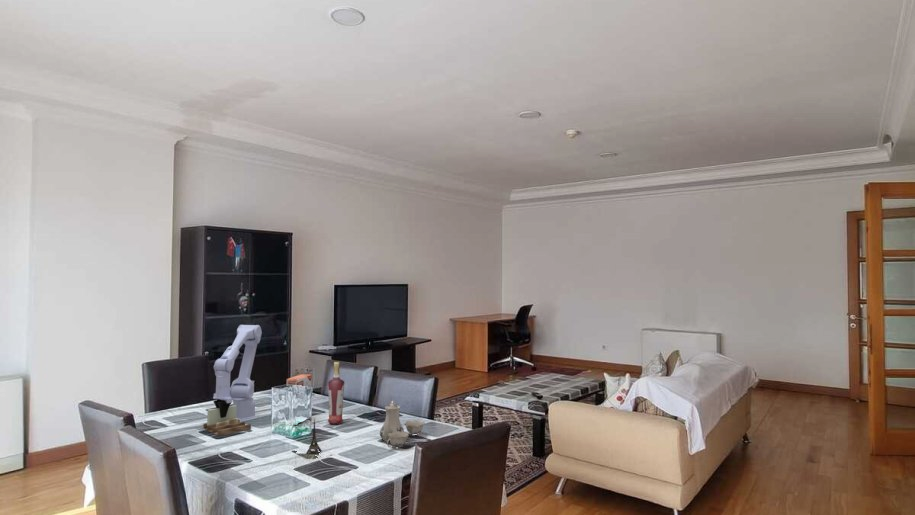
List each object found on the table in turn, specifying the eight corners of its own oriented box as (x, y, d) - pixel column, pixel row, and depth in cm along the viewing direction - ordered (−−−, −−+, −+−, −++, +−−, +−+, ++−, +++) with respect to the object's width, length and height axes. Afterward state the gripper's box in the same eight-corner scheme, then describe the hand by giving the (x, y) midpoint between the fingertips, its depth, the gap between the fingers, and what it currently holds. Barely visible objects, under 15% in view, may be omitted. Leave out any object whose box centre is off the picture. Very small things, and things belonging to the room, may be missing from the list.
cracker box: (296, 426, 239) (297, 379, 240) (284, 425, 240) (285, 378, 241) (311, 418, 253) (312, 374, 254) (299, 417, 254) (300, 373, 255)
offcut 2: (236, 425, 237) (237, 417, 237) (238, 425, 236) (238, 418, 236) (225, 427, 234) (225, 419, 234) (227, 428, 233) (227, 420, 233)
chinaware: (406, 456, 205) (411, 413, 206) (366, 448, 209) (371, 406, 209) (425, 436, 233) (430, 398, 233) (389, 429, 236) (394, 392, 237)
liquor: (341, 425, 241) (342, 363, 242) (325, 425, 241) (326, 363, 243) (345, 421, 249) (346, 361, 250) (329, 420, 249) (331, 360, 250)
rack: (234, 423, 242) (235, 417, 242) (250, 430, 231) (251, 424, 231) (203, 429, 232) (203, 423, 232) (218, 437, 221) (218, 430, 221)
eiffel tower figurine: (290, 452, 205) (291, 417, 205) (313, 447, 212) (314, 413, 212) (310, 462, 194) (311, 425, 195) (334, 456, 201) (335, 420, 202)
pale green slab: (234, 422, 240) (234, 405, 241) (236, 423, 239) (236, 405, 239) (207, 428, 231) (207, 409, 232) (208, 429, 230) (209, 410, 230)
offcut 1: (227, 428, 232) (227, 420, 233) (228, 428, 231) (229, 421, 232) (215, 430, 229) (216, 422, 229) (217, 431, 228) (217, 423, 228)
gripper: (207, 384, 238) (206, 415, 237) (221, 389, 228) (219, 421, 227) (222, 382, 243) (221, 412, 243) (237, 387, 233) (236, 418, 233)
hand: (222, 416), depth 235 cm, fingers closed on pale green slab, 2 cm apart
